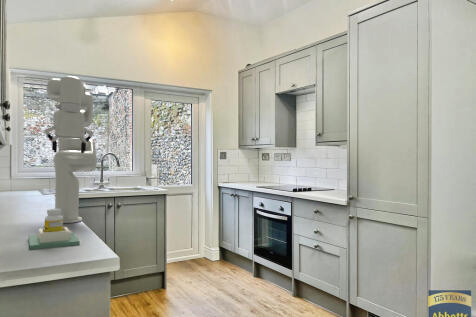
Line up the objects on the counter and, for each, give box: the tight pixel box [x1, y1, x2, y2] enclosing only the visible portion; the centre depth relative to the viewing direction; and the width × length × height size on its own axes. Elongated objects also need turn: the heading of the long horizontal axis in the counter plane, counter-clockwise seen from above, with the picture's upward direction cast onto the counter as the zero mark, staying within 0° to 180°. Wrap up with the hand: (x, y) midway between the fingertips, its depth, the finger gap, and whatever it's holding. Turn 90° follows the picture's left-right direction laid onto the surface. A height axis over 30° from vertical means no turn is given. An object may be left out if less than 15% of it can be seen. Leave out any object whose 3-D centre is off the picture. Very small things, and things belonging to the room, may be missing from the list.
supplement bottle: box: [44, 208, 64, 232], centre depth 117 cm, size 5×5×10 cm
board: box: [28, 226, 80, 250], centre depth 118 cm, size 16×14×4 cm
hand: (69, 152), depth 138 cm, fingers open, 9 cm apart
